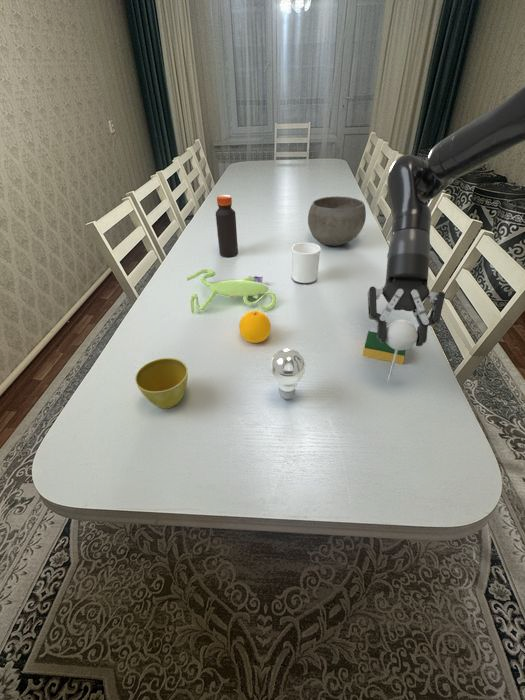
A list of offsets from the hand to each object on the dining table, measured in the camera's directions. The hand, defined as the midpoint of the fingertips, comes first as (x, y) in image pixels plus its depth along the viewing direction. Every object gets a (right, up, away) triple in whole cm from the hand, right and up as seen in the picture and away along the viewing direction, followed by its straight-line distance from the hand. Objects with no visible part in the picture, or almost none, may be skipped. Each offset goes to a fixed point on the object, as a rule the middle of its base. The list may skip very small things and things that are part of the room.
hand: (400, 343), depth 68 cm
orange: (-28, +2, +23) cm, 36 cm away
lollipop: (+1, -8, +8) cm, 12 cm away
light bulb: (-21, -11, +7) cm, 25 cm away
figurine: (-36, +14, +39) cm, 55 cm away
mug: (-12, +22, +48) cm, 54 cm away
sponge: (+3, -2, +17) cm, 18 cm away
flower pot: (-46, -12, +7) cm, 48 cm away
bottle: (-39, +34, +64) cm, 82 cm away
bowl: (+1, +40, +71) cm, 82 cm away
